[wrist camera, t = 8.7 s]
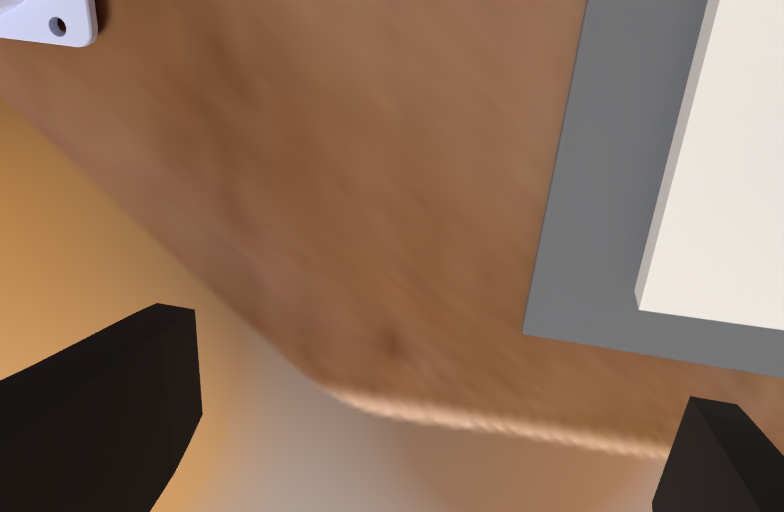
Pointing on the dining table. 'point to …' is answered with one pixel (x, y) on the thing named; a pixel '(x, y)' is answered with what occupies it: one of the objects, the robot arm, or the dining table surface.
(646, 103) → the mat
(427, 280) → the dining table surface
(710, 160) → the lid
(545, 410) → the dining table surface
